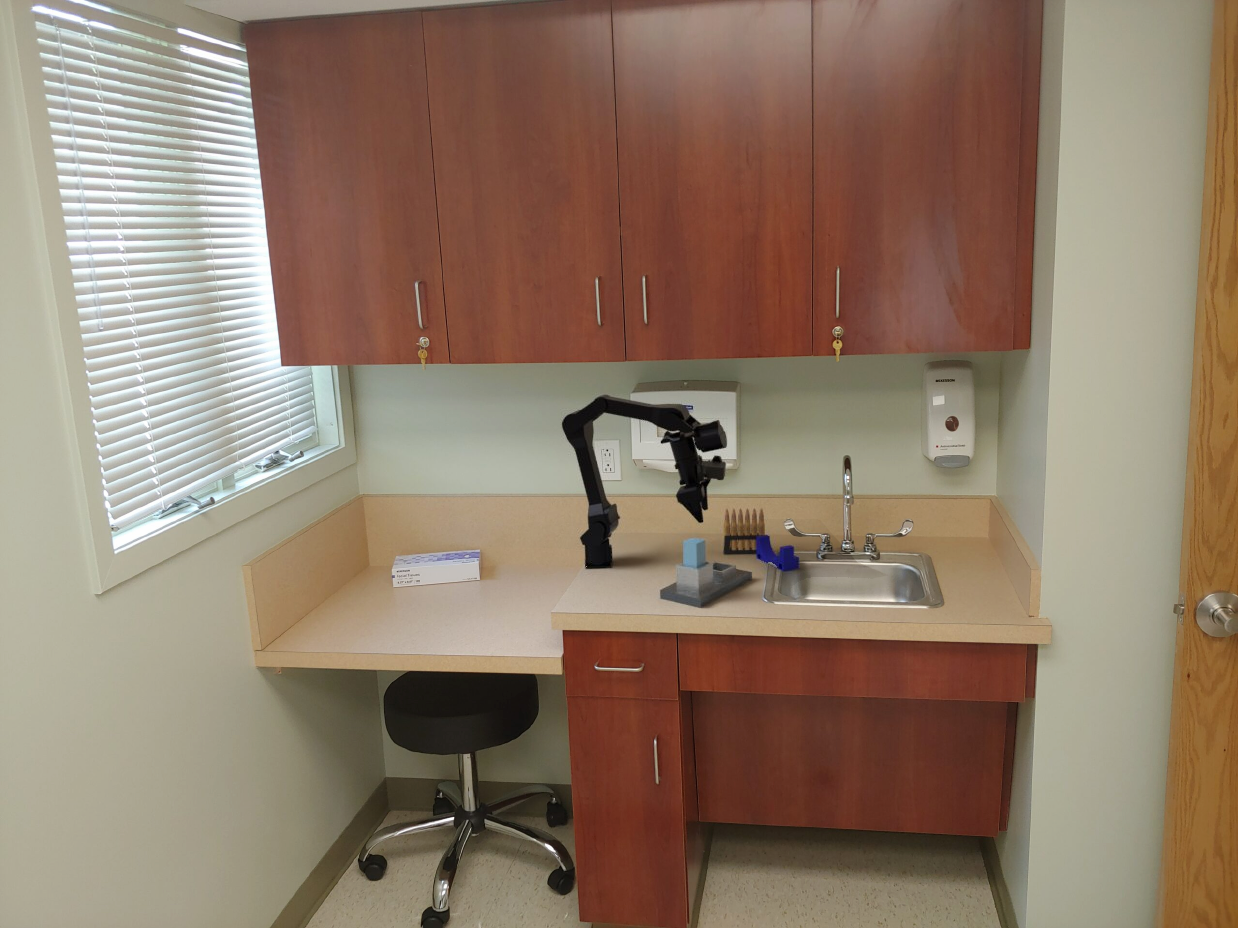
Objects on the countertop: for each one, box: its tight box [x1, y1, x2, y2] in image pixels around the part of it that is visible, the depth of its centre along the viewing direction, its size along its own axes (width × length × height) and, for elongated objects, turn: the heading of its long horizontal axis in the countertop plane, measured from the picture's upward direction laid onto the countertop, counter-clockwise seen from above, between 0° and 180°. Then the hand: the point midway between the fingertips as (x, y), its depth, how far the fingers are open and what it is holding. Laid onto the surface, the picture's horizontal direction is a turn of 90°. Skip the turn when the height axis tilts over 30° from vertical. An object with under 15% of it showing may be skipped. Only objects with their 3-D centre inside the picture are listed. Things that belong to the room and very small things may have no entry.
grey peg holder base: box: [659, 560, 753, 609], centre depth 227 cm, size 22×11×8 cm, turn 142°
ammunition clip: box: [722, 507, 766, 556], centre depth 252 cm, size 11×2×12 cm, turn 86°
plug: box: [682, 537, 707, 569], centre depth 222 cm, size 4×4×7 cm
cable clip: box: [755, 534, 800, 572], centre depth 244 cm, size 12×4×6 cm, turn 25°
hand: (703, 516), depth 238 cm, fingers open, 9 cm apart
